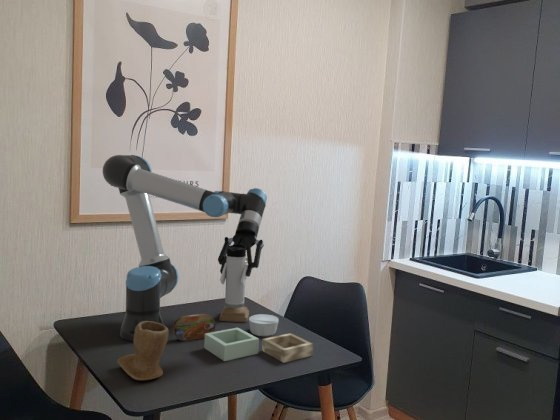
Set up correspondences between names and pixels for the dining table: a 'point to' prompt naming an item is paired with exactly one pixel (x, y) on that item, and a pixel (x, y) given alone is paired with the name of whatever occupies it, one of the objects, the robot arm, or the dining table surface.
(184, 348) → the dining table surface
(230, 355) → the mint green square tray
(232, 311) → the candle holder
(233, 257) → the travel mug
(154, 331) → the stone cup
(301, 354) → the brown square tray
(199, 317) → the tin
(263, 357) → the dining table surface
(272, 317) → the ramekin
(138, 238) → the robot arm
